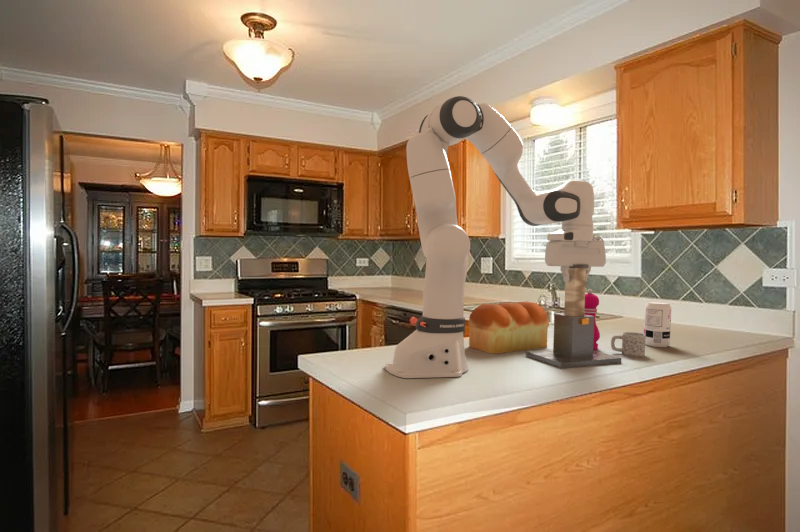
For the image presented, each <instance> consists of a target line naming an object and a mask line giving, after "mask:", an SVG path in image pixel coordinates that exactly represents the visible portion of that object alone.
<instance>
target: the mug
mask: <svg viewBox="0 0 800 532" xmlns="http://www.w3.org/2000/svg"><path fill="white" fill-rule="evenodd" d="M611 337H612V338H611V341H610V346H611V347H610V348H611V349H612V350H613V351H615V352H620V353H621V354H622V355H624V356H628V357H634V358H642V357H645V356H646V344H645V339H646V335H645V334H644V333H642V332H634V331H632V332H631V331H625V332H622V334H618V335H613V336H611ZM618 339H619V340H621V341H622V343H621V347H616V346H615V341H616V340H618Z"/></svg>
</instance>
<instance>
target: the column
mask: <svg viewBox="0 0 800 532" xmlns="http://www.w3.org/2000/svg"><path fill="white" fill-rule="evenodd" d="M588 267H589V265H583V264H573V266H569V270H567V271H568V273H569V276H571V282H564V283H565V285H564V311H563V313H564V315H569V316H584V307H585V294H586V282H585V280H586V268H588Z"/></svg>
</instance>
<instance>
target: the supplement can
mask: <svg viewBox="0 0 800 532" xmlns="http://www.w3.org/2000/svg"><path fill="white" fill-rule="evenodd" d="M643 321H644V322H643V334H645V335H646V339H645V346H649V347H654V348H668V347H669V346H670V344H671V325H672V306H671V304H670V303H669V302H663V301H647V302H646V304H645V306H644V320H643Z"/></svg>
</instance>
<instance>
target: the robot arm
mask: <svg viewBox="0 0 800 532" xmlns="http://www.w3.org/2000/svg"><path fill="white" fill-rule="evenodd" d="M418 130H419V131H418V133H416V134H414V135H412V136H411V137H410V138H409V140H408V141H407V143H406V164H407V171H408V177H409V182H410V187H411V193H412V196H413V200H414V206H415V211H416V212H415V213H416V219H417V226H418V227H417V228H418V233H419V234H418V235H419V239H420V244H421V251H422V253H423V256H424V257H425V258H426V259H425V261H426V262H425V273H424V281H423V286H422V315H421V316H420V317H419V318H417V317H415V316H412V317H410V319H409V323H410V324H411V325H413V326H415V328H416V329H415V330H414V331H412V333H410V334H409V335H408V336H407V337H405V338H404V339H402V340H401V342H399V343H398V344H397V345H396V347H395V349H394V354H393V360H392V361H389V362H386V363H385V364H384V365H385V367H384V369H385V370H386V372H388V373H389V374H391V375H393V376H395V377H398V378H403V379H424V378H425V379H426V378H430V379H431V378H455V377H456V378H457V377H461V376H462V375H463V374H464V373H467V371H468V370H469V366H468V362H467V358H466V351H465V341H464V339H465V338H464V337H465V333H466V332H465V331H466V317H464V310H465V309H464V308H465V305H464V303H465V287H466V285H465V284H466V281H467V280H466V279H467V274H468V273H467V272H468V267H469V257H470V251H471V241H470V237H469V235H468V233H467V232H466V231H465V229H464V228H462V227H461V226H460V225H459V224H458V223H459V222H458V217H457V216H458V215H457V196H456V191H455V188H454V182H453V178H452V171H451V168H450V163H449V161H448V149H449V147H450V146H451V147H452V146H454V145H457V144H459V143H460V142H462V141H463V140H466V141H468V142H469V143H471V144H472V145H473V146H474V147H475V149H476V150H477V151H478V152H479V153H480V155H481V156H482V157H483V158H484V159H485V161H486V162H487V163H488V165H489V166H490V167H491V169H492V171H493V173H494V175H495V177H496V178H497V179H498V181H499V182H500V183H501V185H502V187H503V188H504V189H505V190H506V192H507V194H508V195H509V196H510V198H511V199H512V200H513V202H514V203H515V206H516V208H517V211H518V215H519V216H520V218H521V220H522V221H523V222H524V223H525V224H527V225H528V226H532V227H537V226H541V225H550V224H558V223H561V229H558V230H555V231H552V232H549V233H547V235H546V238H547V241H548V242H547V244H546V245H545V252H544V253H545V254H544V262H545V264H546V266H548V267H560V268H559V269H560V272H561V275H562V276H563V278H562V280H563V281H562V282H564V283H565V282H571V276H569V273H568V271H567V270H569V266H573V264H583V265H589V267H588V268H586V280H585V283H586V282H588V276H589V275H590V273H591V270H592V268H593V267H594V268H595V267H596V268H597V267H598V268H600V267H601V268H602V267H604V266H605V265H606V263H607V259H606V258H607V257H606V256H607V255H606V247H605V240H604V239H603V238H602V237H601V236H598V235H597V236H594V221H593V215H594V212H595V192H594V191H595V190H594V187H593V185H592V184H591V183H590V182H589V181H585V180H581V179H570V180H567V181H566V182H565V183H563V184H562V185H560V186H558V187H556V188H553V189H551V190H546V191H542V192H539V191H536V190H533V188H532V187H531V186H530V185H529V184H528V182H527V181H526V180H525V178H524V177H523V175H522V174H521V172H520V170H519V167H518V164H519V161H520V160H521V158H522V155H523V151H524V143H523V140H522V139H521V137H520V135H519V134H518V132H517V131H516V129H514V128H513V127H512V125H511V124H510V123H509V122H508V120H506V118H505V117H504V116H503V115H502V114H500V113H499V112H498V111H497V110H496V109H495V108H494V107H492V106H491V105H490V104H488V103H485V102H484V103H483V102H482V103H476V102H474V100H472V99H471V98H468V97H467V96H463V95H461V96H460V95H459V96H458V95H457V96H454V97H451V98H448V99H447V100H445V101H444V102H443V103H441V104H439V105H437V106H436V107H434V108H433V109H432V110H431V111H430V112H429V113H428V114H427V115H426V116H424V118H423V119H422V121H421V123H420V126H419V129H418Z"/></svg>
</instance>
